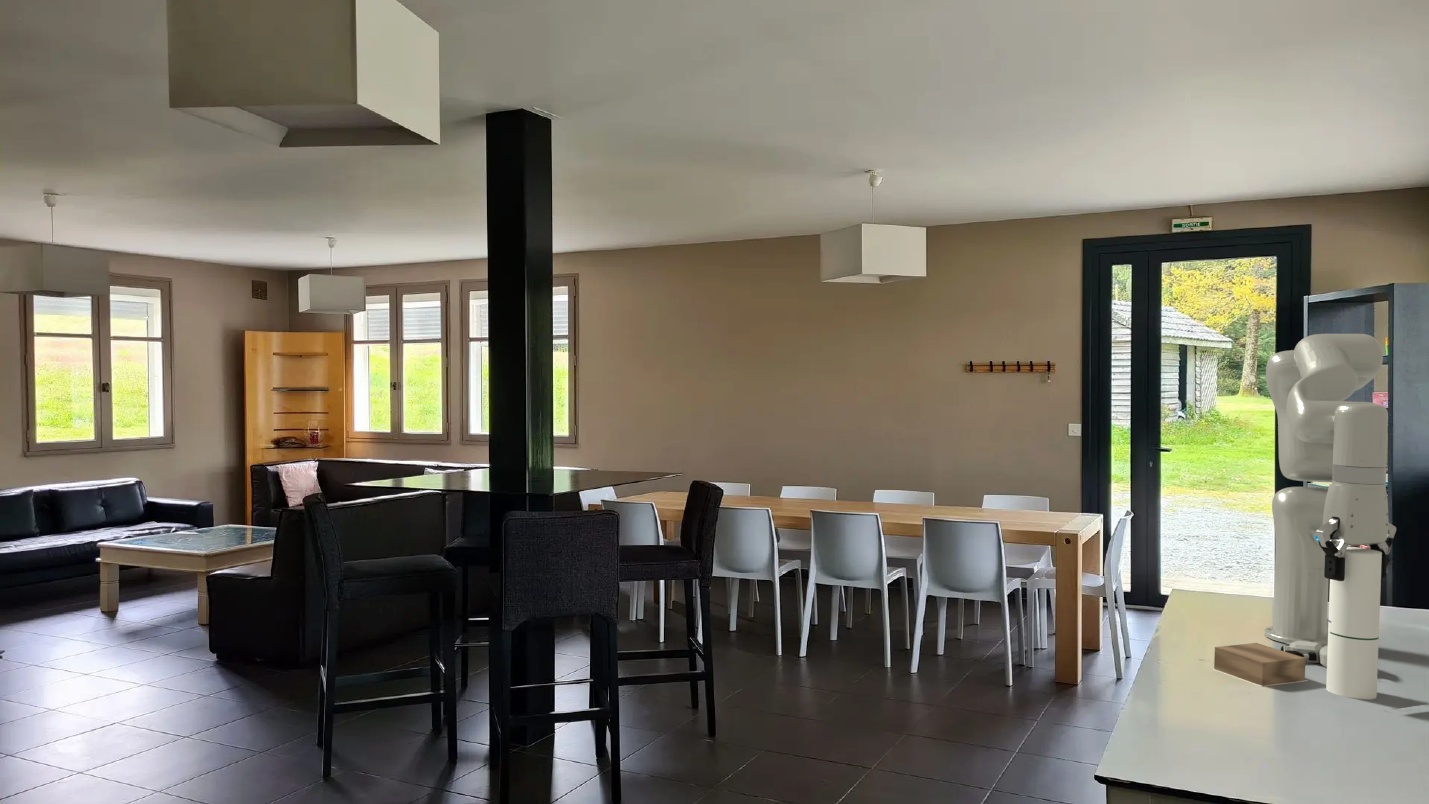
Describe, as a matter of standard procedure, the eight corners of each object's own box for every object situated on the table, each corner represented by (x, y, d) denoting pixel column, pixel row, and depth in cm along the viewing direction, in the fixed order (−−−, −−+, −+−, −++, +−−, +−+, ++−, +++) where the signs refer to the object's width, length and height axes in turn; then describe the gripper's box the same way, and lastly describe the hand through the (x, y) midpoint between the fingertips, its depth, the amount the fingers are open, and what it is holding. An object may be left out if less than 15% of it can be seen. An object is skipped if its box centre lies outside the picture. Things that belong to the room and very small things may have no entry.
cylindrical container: (1368, 693, 166) (1374, 548, 166) (1382, 706, 160) (1387, 555, 159) (1321, 688, 169) (1326, 545, 168) (1332, 701, 162) (1337, 552, 161)
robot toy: (1273, 671, 182) (1368, 683, 172) (1271, 646, 182) (1366, 657, 172) (1289, 657, 191) (1380, 669, 181) (1288, 634, 191) (1379, 644, 181)
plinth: (1255, 664, 179) (1256, 642, 179) (1304, 680, 170) (1305, 658, 170) (1214, 669, 176) (1214, 647, 176) (1262, 685, 167) (1262, 662, 167)
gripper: (1373, 473, 170) (1369, 571, 170) (1300, 475, 164) (1297, 576, 164) (1417, 478, 163) (1413, 579, 163) (1342, 480, 157) (1339, 585, 157)
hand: (1355, 578), depth 164 cm, fingers open, 9 cm apart
